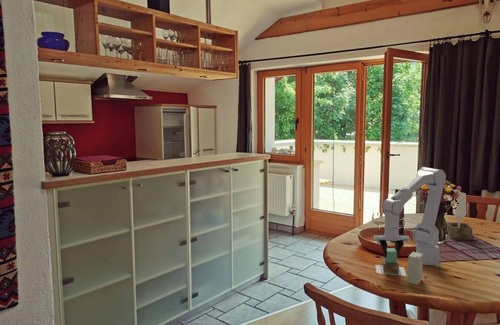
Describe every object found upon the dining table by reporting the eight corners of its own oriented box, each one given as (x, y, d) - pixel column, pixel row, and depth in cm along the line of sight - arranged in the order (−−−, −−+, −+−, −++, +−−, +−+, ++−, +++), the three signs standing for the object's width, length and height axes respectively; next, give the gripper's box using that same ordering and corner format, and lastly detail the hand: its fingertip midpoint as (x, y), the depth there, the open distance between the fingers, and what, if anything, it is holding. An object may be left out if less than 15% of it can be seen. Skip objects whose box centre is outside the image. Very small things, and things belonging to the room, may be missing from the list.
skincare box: (411, 278, 159) (412, 251, 157) (422, 281, 156) (423, 253, 154) (406, 284, 154) (407, 255, 152) (417, 287, 151) (419, 258, 150)
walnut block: (396, 267, 168) (397, 259, 167) (398, 273, 162) (398, 264, 161) (382, 266, 169) (382, 258, 169) (383, 272, 164) (383, 263, 163)
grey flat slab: (403, 268, 169) (403, 267, 168) (406, 277, 160) (406, 275, 160) (375, 266, 172) (375, 264, 171) (376, 274, 163) (376, 272, 163)
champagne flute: (451, 236, 209) (453, 194, 206) (451, 233, 215) (453, 191, 212) (465, 238, 206) (468, 195, 203) (465, 234, 212) (467, 192, 209)
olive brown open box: (466, 233, 215) (466, 223, 214) (471, 239, 204) (472, 228, 204) (445, 232, 217) (446, 222, 216) (450, 238, 207) (450, 227, 206)
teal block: (394, 259, 167) (394, 248, 166) (396, 262, 163) (397, 251, 162) (384, 258, 168) (384, 248, 167) (386, 262, 163) (387, 251, 163)
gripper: (406, 224, 166) (405, 253, 168) (372, 223, 168) (371, 253, 170) (411, 229, 159) (410, 259, 161) (376, 228, 161) (375, 259, 163)
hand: (390, 256), depth 165 cm, fingers closed on teal block, 4 cm apart
